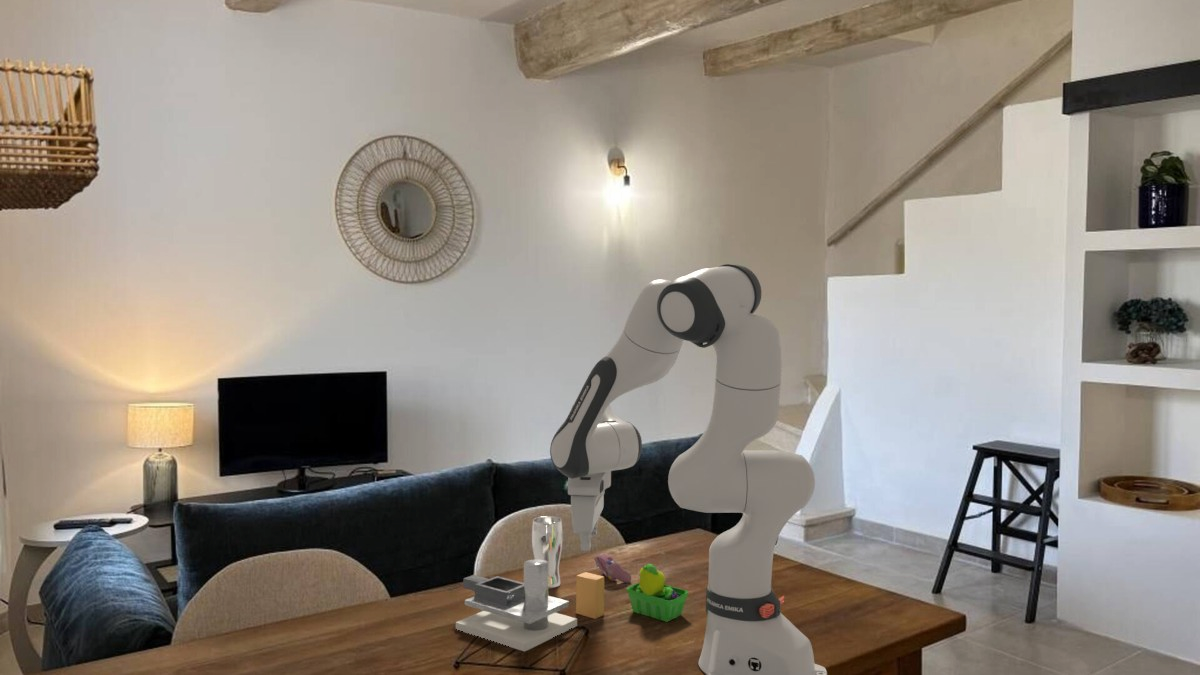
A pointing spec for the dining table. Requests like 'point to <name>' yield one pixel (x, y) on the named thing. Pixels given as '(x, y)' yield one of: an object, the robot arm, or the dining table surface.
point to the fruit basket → (656, 595)
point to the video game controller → (611, 568)
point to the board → (514, 629)
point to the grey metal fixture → (517, 596)
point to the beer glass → (548, 545)
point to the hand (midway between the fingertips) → (589, 543)
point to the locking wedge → (590, 595)
